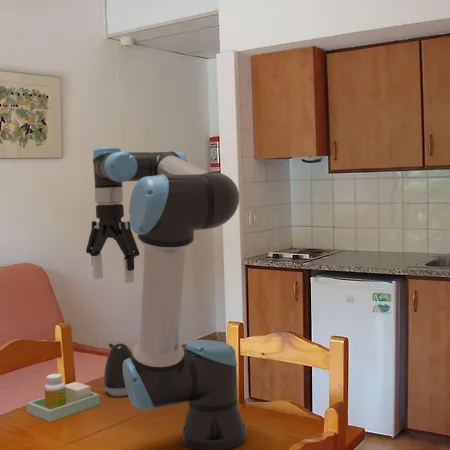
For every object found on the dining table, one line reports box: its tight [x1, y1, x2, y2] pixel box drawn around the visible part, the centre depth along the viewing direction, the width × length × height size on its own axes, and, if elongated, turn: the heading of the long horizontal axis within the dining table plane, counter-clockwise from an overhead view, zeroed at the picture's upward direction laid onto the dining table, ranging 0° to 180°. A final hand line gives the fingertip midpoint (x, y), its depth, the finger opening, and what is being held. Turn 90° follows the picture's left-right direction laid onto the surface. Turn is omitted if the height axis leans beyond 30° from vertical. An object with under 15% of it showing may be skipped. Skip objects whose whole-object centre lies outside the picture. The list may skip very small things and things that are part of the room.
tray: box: [26, 391, 101, 423], centre depth 173 cm, size 11×16×4 cm
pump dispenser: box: [102, 342, 132, 397], centre depth 184 cm, size 10×10×15 cm
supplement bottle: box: [44, 373, 66, 410], centre depth 170 cm, size 5×5×10 cm
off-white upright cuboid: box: [65, 381, 92, 404], centre depth 176 cm, size 7×4×5 cm, turn 49°
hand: (113, 280), depth 175 cm, fingers open, 13 cm apart
